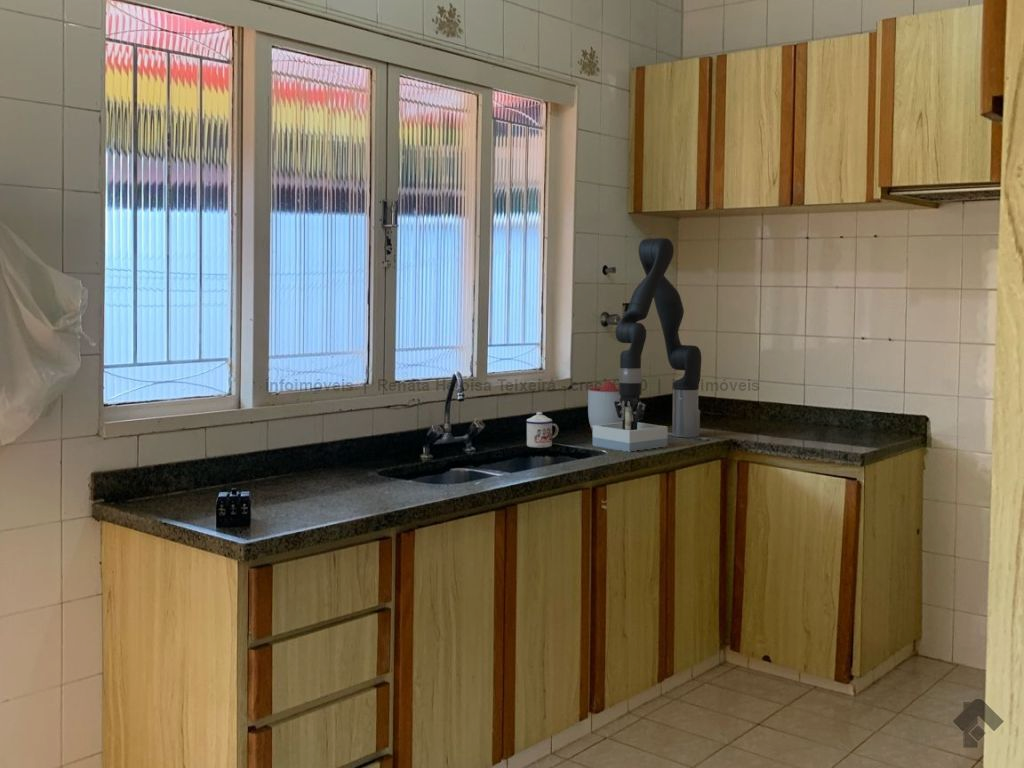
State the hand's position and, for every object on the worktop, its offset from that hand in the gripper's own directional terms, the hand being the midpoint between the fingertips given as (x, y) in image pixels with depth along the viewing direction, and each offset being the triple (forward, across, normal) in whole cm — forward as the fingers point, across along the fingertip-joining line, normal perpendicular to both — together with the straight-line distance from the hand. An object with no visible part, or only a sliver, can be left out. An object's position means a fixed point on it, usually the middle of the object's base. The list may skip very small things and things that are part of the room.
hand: (629, 431), depth 354 cm
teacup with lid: (+6, +20, +22) cm, 30 cm away
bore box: (+5, 0, 0) cm, 5 cm away
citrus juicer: (+5, +26, -16) cm, 31 cm away
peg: (+4, 0, 0) cm, 4 cm away
